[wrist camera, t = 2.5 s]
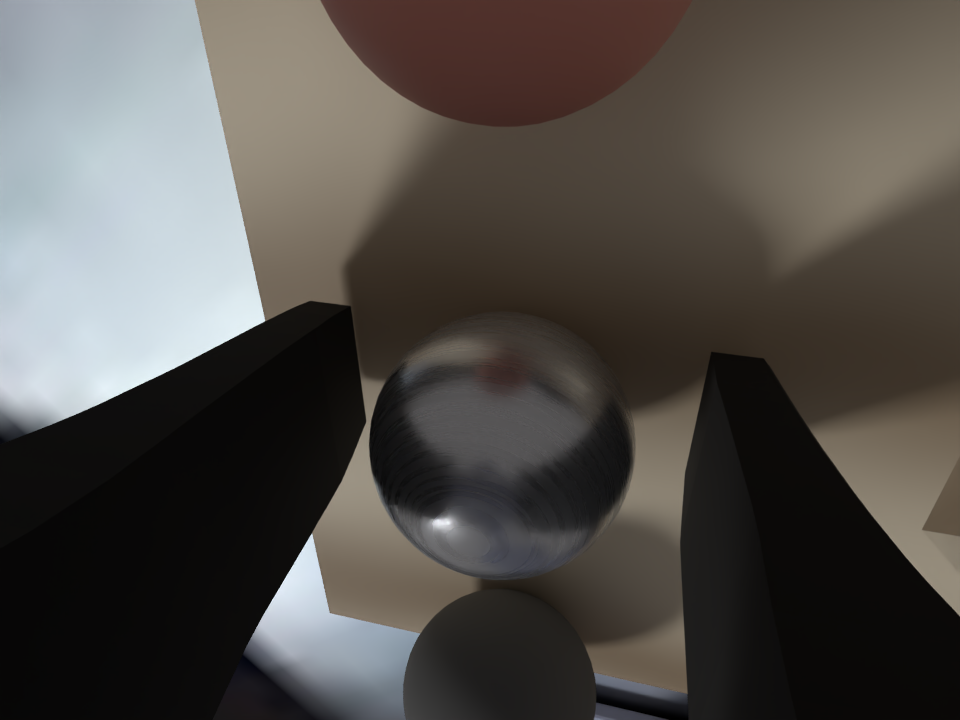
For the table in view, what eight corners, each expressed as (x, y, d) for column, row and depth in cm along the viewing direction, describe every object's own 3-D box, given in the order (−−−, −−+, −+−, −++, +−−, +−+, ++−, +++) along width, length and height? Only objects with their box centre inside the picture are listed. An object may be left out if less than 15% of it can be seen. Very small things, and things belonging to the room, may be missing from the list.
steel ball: (630, 470, 10) (608, 664, 8) (424, 436, 11) (342, 606, 9) (659, 279, 9) (643, 455, 6) (410, 252, 9) (302, 400, 7)
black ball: (597, 676, 14) (575, 862, 11) (440, 640, 14) (383, 808, 12) (614, 569, 12) (591, 764, 9) (431, 534, 12) (363, 706, 10)
